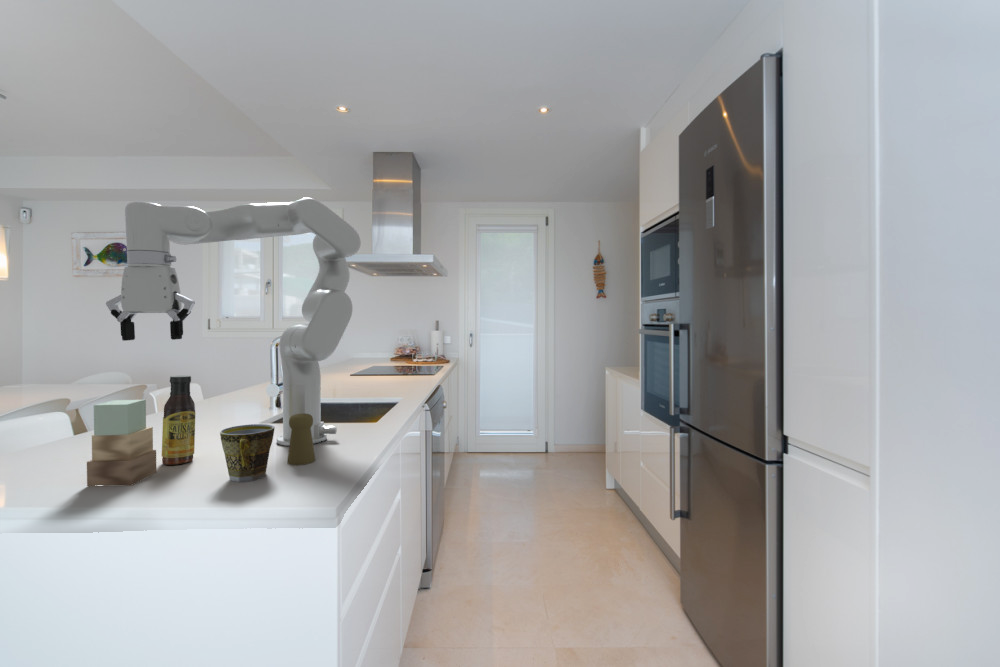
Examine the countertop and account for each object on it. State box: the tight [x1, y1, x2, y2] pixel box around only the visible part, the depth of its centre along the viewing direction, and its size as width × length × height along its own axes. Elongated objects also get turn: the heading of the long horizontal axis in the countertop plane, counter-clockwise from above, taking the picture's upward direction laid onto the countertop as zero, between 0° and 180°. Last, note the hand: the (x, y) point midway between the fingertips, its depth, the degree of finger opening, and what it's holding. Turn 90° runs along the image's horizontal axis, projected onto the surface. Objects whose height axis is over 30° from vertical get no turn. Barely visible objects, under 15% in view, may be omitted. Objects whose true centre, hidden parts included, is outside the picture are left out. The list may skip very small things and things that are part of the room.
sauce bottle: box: [161, 375, 196, 466], centre depth 108 cm, size 7×6×20 cm
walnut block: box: [86, 449, 157, 487], centre depth 96 cm, size 8×8×5 cm
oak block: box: [91, 426, 154, 461], centre depth 96 cm, size 7×7×5 cm
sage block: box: [93, 399, 147, 436], centre depth 96 cm, size 6×6×6 cm
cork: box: [286, 413, 316, 466], centre depth 109 cm, size 6×6×11 cm
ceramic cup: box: [219, 423, 275, 483], centre depth 96 cm, size 13×10×10 cm
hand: (152, 339), depth 103 cm, fingers open, 9 cm apart
